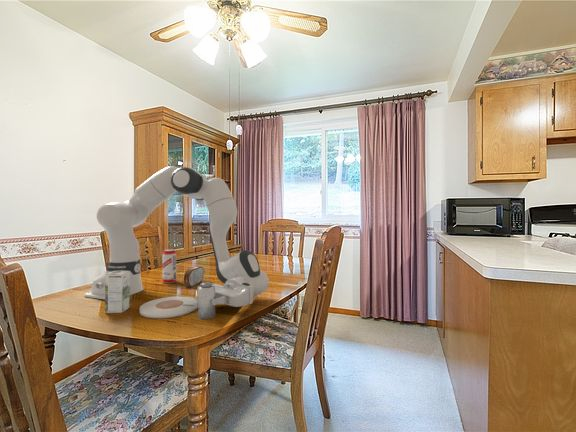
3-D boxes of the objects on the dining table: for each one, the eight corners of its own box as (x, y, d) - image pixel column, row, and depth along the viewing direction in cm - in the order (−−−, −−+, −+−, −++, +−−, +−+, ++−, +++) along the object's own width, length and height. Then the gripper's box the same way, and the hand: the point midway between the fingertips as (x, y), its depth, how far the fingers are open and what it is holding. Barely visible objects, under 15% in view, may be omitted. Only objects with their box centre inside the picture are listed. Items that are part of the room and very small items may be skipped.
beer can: (171, 284, 144) (171, 251, 143) (160, 283, 145) (159, 250, 145) (179, 281, 150) (178, 249, 150) (167, 280, 151) (167, 248, 151)
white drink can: (195, 322, 96) (194, 285, 95) (202, 316, 101) (202, 281, 101) (211, 323, 95) (211, 285, 95) (218, 317, 100) (217, 281, 100)
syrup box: (113, 311, 107) (112, 270, 106) (130, 310, 107) (129, 270, 107) (104, 316, 101) (104, 274, 101) (123, 316, 102) (122, 273, 101)
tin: (199, 280, 151) (199, 264, 151) (204, 281, 151) (204, 264, 150) (183, 288, 136) (182, 270, 136) (189, 289, 136) (189, 270, 136)
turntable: (126, 316, 98) (126, 311, 98) (160, 299, 116) (160, 294, 116) (181, 319, 95) (181, 314, 95) (206, 301, 113) (206, 297, 113)
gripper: (215, 278, 114) (184, 286, 103) (256, 286, 103) (226, 296, 91) (215, 294, 115) (184, 304, 103) (256, 304, 103) (226, 316, 92)
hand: (204, 300), depth 97 cm, fingers closed on white drink can, 5 cm apart
